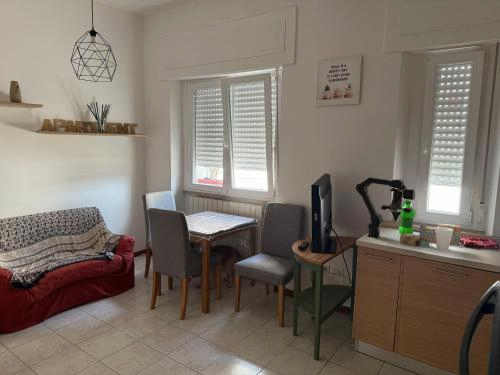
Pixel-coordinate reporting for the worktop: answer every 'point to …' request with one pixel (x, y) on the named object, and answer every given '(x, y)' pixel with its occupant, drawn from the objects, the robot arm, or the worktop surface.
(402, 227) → the plastic bottle
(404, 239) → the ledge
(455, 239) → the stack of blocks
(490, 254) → the worktop surface
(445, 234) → the foam cup
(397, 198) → the robot arm
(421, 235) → the pusher
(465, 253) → the worktop surface
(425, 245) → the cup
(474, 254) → the worktop surface
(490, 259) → the worktop surface
